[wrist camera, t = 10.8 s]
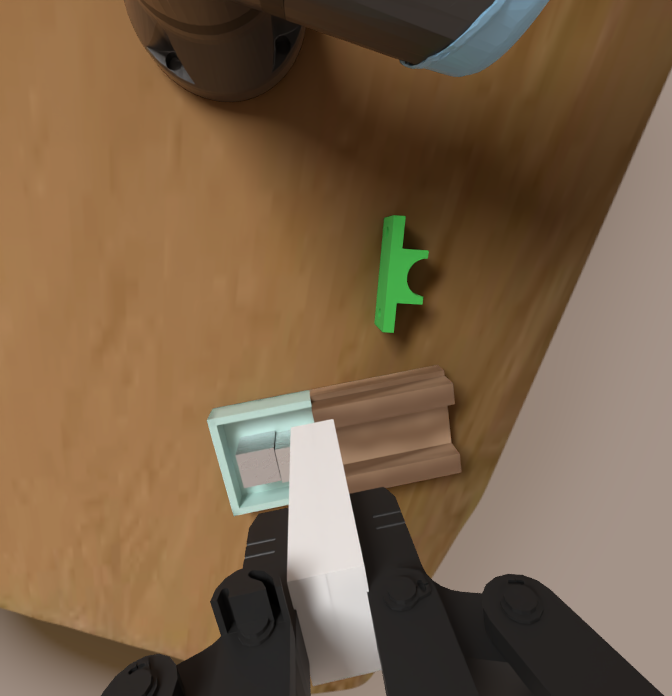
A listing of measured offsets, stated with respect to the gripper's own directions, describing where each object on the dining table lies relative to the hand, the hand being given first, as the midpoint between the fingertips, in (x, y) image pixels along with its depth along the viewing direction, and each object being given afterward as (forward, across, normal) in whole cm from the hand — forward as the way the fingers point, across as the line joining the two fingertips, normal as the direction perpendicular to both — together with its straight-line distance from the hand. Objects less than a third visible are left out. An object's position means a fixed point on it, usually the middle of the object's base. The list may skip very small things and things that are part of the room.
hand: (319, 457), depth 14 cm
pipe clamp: (+31, +10, +2) cm, 33 cm away
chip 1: (+30, -8, -15) cm, 34 cm away
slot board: (+30, +6, -15) cm, 35 cm away
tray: (+30, -6, -15) cm, 35 cm away
